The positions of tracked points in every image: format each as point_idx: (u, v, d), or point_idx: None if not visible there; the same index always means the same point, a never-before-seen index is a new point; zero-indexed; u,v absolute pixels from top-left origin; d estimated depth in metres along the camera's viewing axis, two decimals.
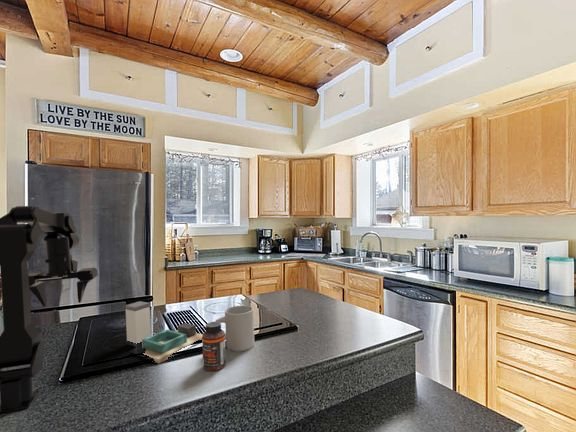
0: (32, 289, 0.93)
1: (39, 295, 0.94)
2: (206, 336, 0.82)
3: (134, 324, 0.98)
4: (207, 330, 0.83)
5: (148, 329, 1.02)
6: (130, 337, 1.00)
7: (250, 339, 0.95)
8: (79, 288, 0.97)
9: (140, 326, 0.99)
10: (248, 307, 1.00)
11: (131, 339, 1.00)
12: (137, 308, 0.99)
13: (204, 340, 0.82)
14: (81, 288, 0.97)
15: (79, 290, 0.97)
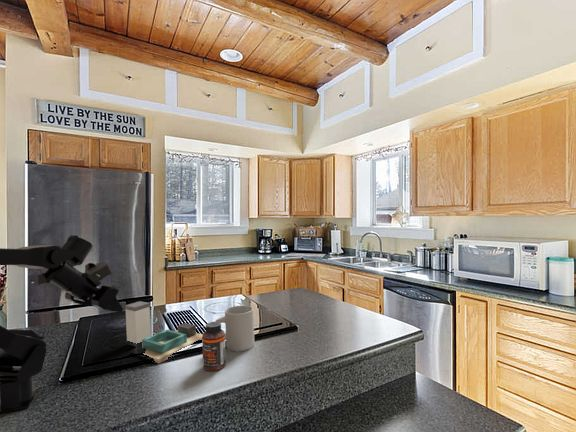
0: (78, 303, 0.93)
1: (88, 305, 0.94)
2: (206, 336, 0.82)
3: (134, 324, 0.98)
4: (207, 330, 0.83)
5: (148, 329, 1.02)
6: (130, 337, 1.00)
7: (250, 339, 0.95)
8: (106, 309, 0.88)
9: (140, 326, 0.99)
10: (248, 307, 1.00)
11: (131, 339, 1.00)
12: (137, 308, 0.99)
13: (204, 340, 0.82)
14: None
15: None
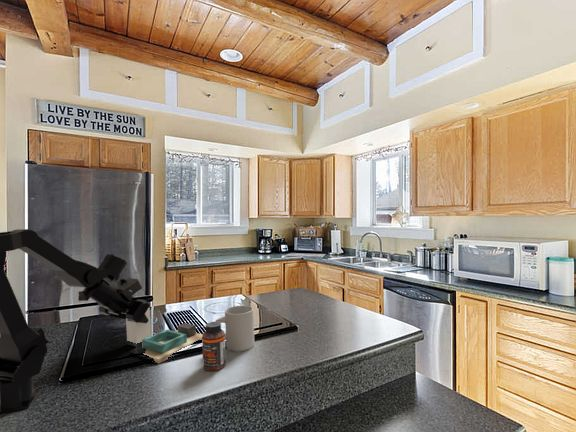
0: (115, 317, 0.99)
1: (124, 318, 1.01)
2: (206, 336, 0.82)
3: (134, 324, 0.98)
4: (207, 330, 0.83)
5: (148, 329, 1.02)
6: (130, 337, 1.00)
7: (250, 339, 0.95)
8: None
9: (140, 326, 0.99)
10: (248, 307, 1.00)
11: (131, 338, 1.00)
12: None
13: (204, 340, 0.82)
14: None
15: None
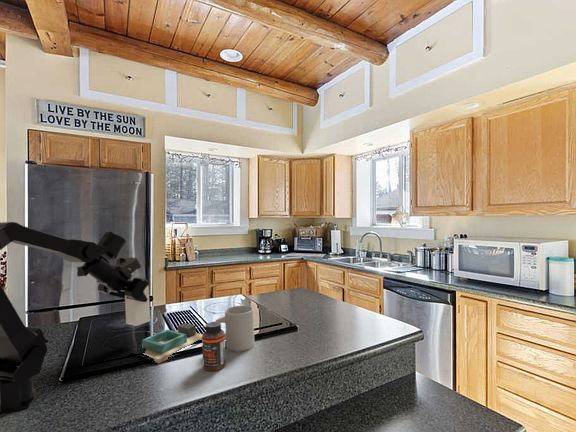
0: (113, 295, 0.99)
1: (122, 297, 1.00)
2: (206, 336, 0.82)
3: (133, 302, 0.98)
4: (207, 330, 0.83)
5: (147, 309, 1.01)
6: (129, 316, 1.00)
7: (250, 339, 0.95)
8: (133, 299, 0.96)
9: (139, 305, 0.99)
10: (248, 307, 1.00)
11: (130, 317, 0.99)
12: None
13: (204, 340, 0.82)
14: (134, 299, 0.96)
15: None
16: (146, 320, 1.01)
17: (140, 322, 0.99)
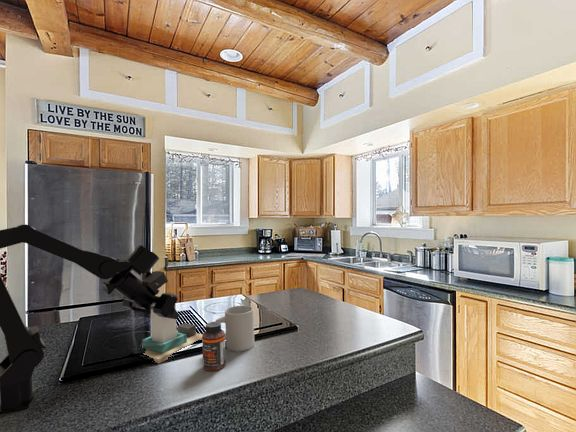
0: (135, 310, 0.95)
1: (144, 312, 0.97)
2: (206, 336, 0.82)
3: (160, 325, 0.93)
4: (207, 330, 0.83)
5: (174, 330, 0.97)
6: (156, 338, 0.95)
7: (250, 339, 0.95)
8: None
9: (166, 327, 0.94)
10: (248, 307, 1.00)
11: (157, 340, 0.95)
12: None
13: (204, 340, 0.82)
14: (166, 317, 0.90)
15: (166, 317, 0.91)
16: None
17: None
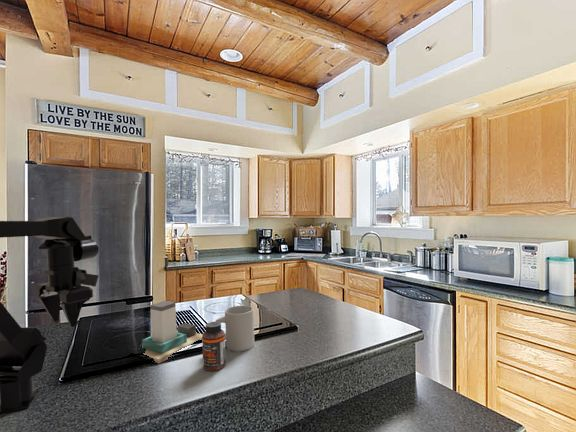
0: (40, 300, 0.85)
1: (46, 308, 0.85)
2: (206, 336, 0.82)
3: (160, 325, 0.93)
4: (207, 330, 0.83)
5: (174, 330, 0.97)
6: (156, 338, 0.95)
7: (250, 339, 0.95)
8: (64, 310, 0.79)
9: (166, 327, 0.94)
10: (248, 307, 1.00)
11: (157, 340, 0.95)
12: (164, 308, 0.94)
13: (204, 340, 0.82)
14: (65, 311, 0.79)
15: (65, 312, 0.79)
16: None
17: None
